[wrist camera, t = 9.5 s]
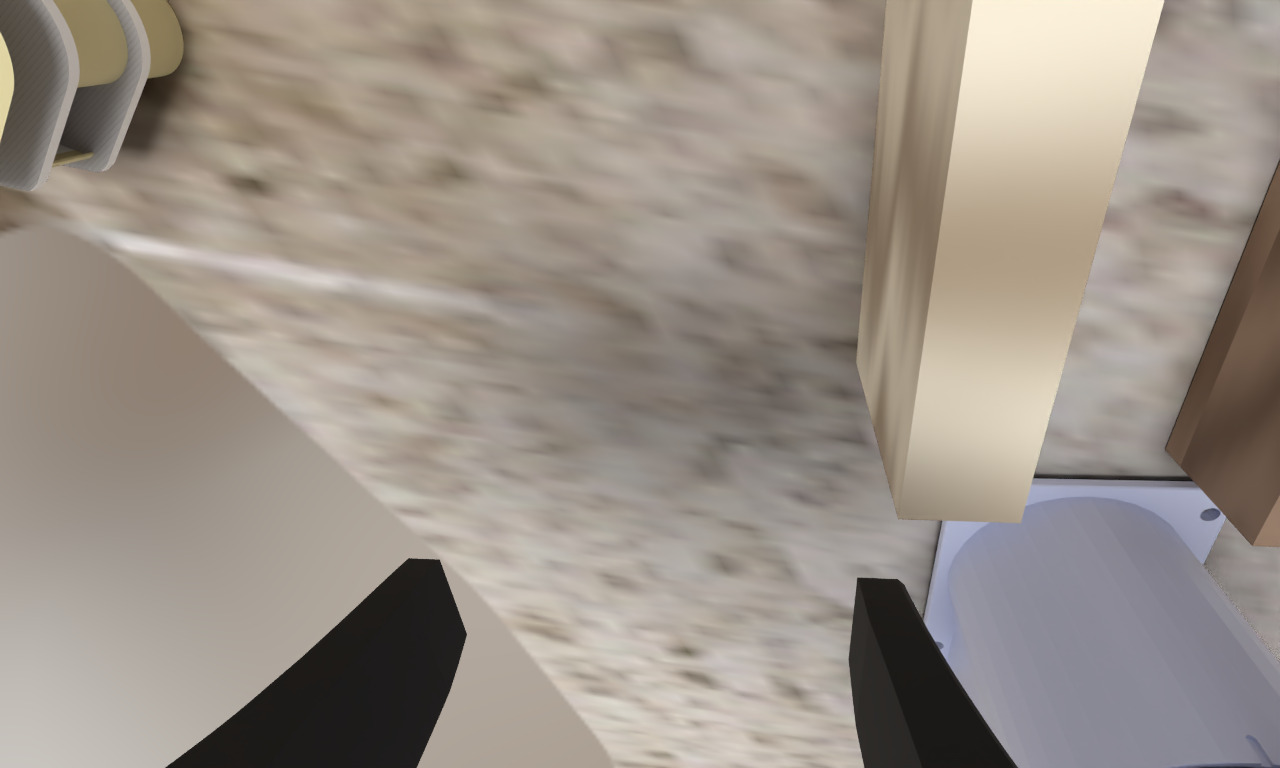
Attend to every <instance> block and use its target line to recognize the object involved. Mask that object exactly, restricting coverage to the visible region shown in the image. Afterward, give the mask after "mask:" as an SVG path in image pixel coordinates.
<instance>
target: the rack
mask: <svg viewBox="0 0 1280 768" xmlns="http://www.w3.org/2000/svg"><path fill="white" fill-rule="evenodd" d="M1165 450H1166V451H1167V452H1168V454H1169V455H1170V456H1171V457H1172V458H1173V459H1174V460H1175V461H1176V462H1177V463H1178V465H1179V466H1180V467H1181V468H1182V469H1183V470H1184V471H1185V472H1186V473H1187V474H1188V476H1189V477H1190V478H1191V479H1192V480H1193V481H1194V482H1195V483H1196V484H1197V485H1198V487H1199V488H1200V489H1201V490H1202V491H1203V492H1204V493H1205V494H1206V495H1207V496H1208V498H1209V499H1210V500H1211V501H1212V502H1213V503H1214V504H1215V505H1216V506H1217V507H1218V509H1219V510H1220V511H1221V512H1222V513H1223V514H1224V515H1225V516H1226V517H1227V518H1228V520H1229V521H1230V522H1231V523H1232V524H1233V525H1234V526H1235V527H1236V528H1237V529H1238V531H1239V532H1240V533H1241V534H1242V535H1243V536H1244V537H1245V538H1246V539H1247V540H1248V542H1249V543H1250V544H1251V545H1252V546H1269V547H1280V162H1279V165H1278V167H1277V170H1276V173H1275V175H1274V178H1273V180H1272V183H1271V185H1270V188H1269V190H1268V193H1267V195H1266V198H1265V200H1264V203H1263V205H1262V208H1261V210H1260V213H1259V215H1258V218H1257V220H1256V223H1255V225H1254V228H1253V230H1252V233H1251V235H1250V238H1249V240H1248V243H1247V245H1246V248H1245V251H1244V253H1243V256H1242V258H1241V261H1240V263H1239V266H1238V268H1237V271H1236V273H1235V276H1234V278H1233V281H1232V283H1231V286H1230V288H1229V291H1228V293H1227V296H1226V298H1225V301H1224V303H1223V306H1222V308H1221V311H1220V313H1219V316H1218V318H1217V321H1216V323H1215V326H1214V329H1213V331H1212V334H1211V336H1210V339H1209V341H1208V344H1207V346H1206V349H1205V351H1204V354H1203V356H1202V359H1201V361H1200V364H1199V366H1198V369H1197V371H1196V374H1195V376H1194V379H1193V381H1192V384H1191V386H1190V389H1189V391H1188V394H1187V396H1186V399H1185V401H1184V404H1183V407H1182V409H1181V412H1180V414H1179V417H1178V419H1177V422H1176V424H1175V427H1174V429H1173V432H1172V434H1171V437H1170V439H1169V442H1168V444H1167V447H1166V449H1165Z"/></svg>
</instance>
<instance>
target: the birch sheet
mask: <svg viewBox="0 0 1280 768" xmlns="http://www.w3.org/2000/svg"><path fill="white" fill-rule="evenodd" d="M1163 3H1164V0H887V2H886V14H885V26H884V38H883V50H882V62H881V73H880V85H879V97H878V109H877V121H876V133H875V145H874V157H873V168H872V180H871V192H870V204H869V216H868V228H867V240H866V252H865V264H864V275H863V287H862V299H861V311H860V323H859V335H858V347H857V359H856V364H857V368H858V372H859V375H860V379H861V383H862V387H863V390H864V394H865V398H866V401H867V405H868V409H869V412H870V416H871V420H872V424H873V427H874V431H875V435H876V438H877V442H878V446H879V449H880V453H881V457H882V461H883V464H884V468H885V472H886V475H887V479H888V483H889V486H890V490H891V494H892V498H893V501H894V505H895V509H896V512H897V516H898V519H908V520H938V521H968V522H998V523H1021V520H1022V516H1023V513H1024V509H1025V506H1026V502H1027V498H1028V495H1029V491H1030V487H1031V484H1032V480H1033V476H1034V473H1035V469H1036V466H1037V462H1038V458H1039V455H1040V451H1041V447H1042V444H1043V440H1044V436H1045V433H1046V429H1047V426H1048V422H1049V418H1050V415H1051V411H1052V407H1053V404H1054V400H1055V396H1056V393H1057V389H1058V385H1059V382H1060V378H1061V375H1062V371H1063V367H1064V364H1065V360H1066V356H1067V353H1068V349H1069V345H1070V342H1071V338H1072V335H1073V331H1074V327H1075V324H1076V320H1077V316H1078V313H1079V309H1080V305H1081V302H1082V298H1083V294H1084V291H1085V287H1086V284H1087V280H1088V276H1089V273H1090V269H1091V265H1092V262H1093V258H1094V254H1095V251H1096V247H1097V244H1098V240H1099V236H1100V233H1101V229H1102V225H1103V222H1104V218H1105V214H1106V211H1107V207H1108V204H1109V200H1110V196H1111V193H1112V189H1113V185H1114V182H1115V178H1116V174H1117V171H1118V167H1119V163H1120V160H1121V156H1122V153H1123V149H1124V145H1125V142H1126V138H1127V134H1128V131H1129V127H1130V123H1131V120H1132V116H1133V113H1134V109H1135V105H1136V102H1137V98H1138V94H1139V91H1140V87H1141V83H1142V80H1143V76H1144V72H1145V69H1146V65H1147V62H1148V58H1149V54H1150V51H1151V47H1152V43H1153V40H1154V36H1155V32H1156V29H1157V25H1158V22H1159V18H1160V14H1161V11H1162V7H1163Z"/></svg>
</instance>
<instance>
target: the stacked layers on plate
mask: <svg viewBox="0 0 1280 768" xmlns="http://www.w3.org/2000/svg"><path fill="white" fill-rule="evenodd" d="M183 48H184V45H183V36H182V32H181V28H180V25H179V22H178V20H177V18H176V15H175V14H174V12H173V10H172V8H171V7H170V5H169V4H168V2H167V1H166V0H0V185H1V186H6V187H11V188H16V189H20V190H25V191H31V190H35V189H39V188H41V187H42V186H43V185H44V184H45V183H46V182H47V180H48V177H49V174H50V170H51V168H52V167H56V166H60V165H63V166H68V167H73V168H78V169H83V170H88V171H93V172H102V171H106V170H108V169H109V168H110V167H111V166H112V165H113V164H114V163H115V161H116V158H117V156H118V153H119V151H120V148H121V145H122V143H123V140H124V138H125V135H126V132H127V130H128V127H129V125H130V122H131V120H132V117H133V114H134V112H135V109H136V107H137V104H138V101H139V99H140V96H141V94H142V91H143V88H144V86H145V83H146V81H147V78H154V77H161V76H166V75H169V74H171V73H172V72H174V71H175V70H176V69H177V67H178V66H179V64H180V62H181V60H182V56H183Z"/></svg>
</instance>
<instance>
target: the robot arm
mask: <svg viewBox="0 0 1280 768" xmlns="http://www.w3.org/2000/svg"><path fill="white" fill-rule="evenodd" d="M1207 509H1209V510H1207ZM1205 510H1207V511H1205ZM1203 511H1205V512H1203ZM1225 519H1226V516H1225V515H1224V514H1223V513H1222V512H1221V511H1220V510H1219V509H1218V507H1217V506H1216V505H1215V504H1214V503H1213V502H1212V501H1211V500H1210V499H1209V498H1208V496H1207V495H1206V494H1205V493H1204V492H1203V491H1202V490H1201V489H1200V488H1199V487H1198V485H1197V484H1196V483H1195V482H1189V481H1139V480H1088V479H1038V478H1033V480H1032V484H1031V487H1030V491H1029V495H1028V498H1027V502H1026V506H1025V509H1024V513H1023V516H1022V520H1021V523H998V522H968V521H942V526H941V531H940V537H939V542H938V547H937V552H936V558H935V563H934V568H933V573H932V579H931V584H930V589H929V594H928V600H927V605H926V610H925V615H924V621H923V620H922V618H921V616H920V615H919V613H918V611H917V609H916V607H915V605H914V603H913V601H912V599H911V598H910V596H909V594H908V592H907V590H906V587H905V585H904V584H903V583H901V582H900V581H899V580H898V579H878V578H857V587H856V596H855V606H854V615H853V624H852V634H851V643H850V652H849V667H850V676H851V686H852V696H853V705H854V713H855V722H856V729H857V734H858V738H859V743H860V748H861V753H862V758H863V763H864V768H1280V662H1279V661H1278V660H1277V659H1276V657H1275V656H1274V655H1273V654H1272V652H1271V651H1270V650H1269V649H1268V647H1267V646H1266V645H1265V644H1264V642H1263V641H1262V640H1261V638H1260V637H1259V636H1258V635H1257V633H1256V632H1255V631H1254V630H1253V628H1252V627H1251V626H1250V625H1249V623H1248V622H1247V621H1246V619H1245V618H1244V617H1243V616H1242V614H1241V613H1240V612H1239V611H1238V609H1237V608H1236V607H1235V606H1234V604H1233V603H1232V602H1231V600H1230V599H1229V598H1228V597H1227V595H1226V594H1225V593H1224V592H1223V590H1222V589H1221V588H1220V587H1219V585H1218V584H1217V583H1216V581H1215V580H1214V579H1213V578H1212V576H1211V575H1210V574H1209V573H1208V571H1207V570H1206V569H1205V568H1204V566H1203V564H1204V562H1205V560H1206V558H1207V556H1208V554H1209V552H1210V550H1211V548H1212V546H1213V544H1214V542H1215V540H1216V538H1217V536H1218V534H1219V532H1220V530H1221V528H1222V526H1223V523H1224V521H1225ZM466 636H467V633H466V631H465V628H464V625H463V622H462V619H461V617H460V614H459V611H458V609H457V606H456V603H455V600H454V598H453V595H452V592H451V590H450V587H449V584H448V581H447V578H446V576H445V573H444V570H443V568H442V565H441V562H440V560H434V559H410V558H409V559H408V560H406V561H405V562H404V563H403V564H402V565H401V566H400V567H399V568H398V569H396V570H395V571H394V572H393V573H392V574H391V575H390V576H389V577H388V578H387V579H386V580H385V581H384V582H383V583H381V584H380V585H379V586H378V587H377V588H376V589H375V590H374V591H373V592H372V593H371V594H370V595H369V596H368V597H367V598H365V599H364V600H363V601H362V602H361V603H360V604H359V605H358V606H357V607H356V608H355V609H354V610H353V611H352V612H351V613H350V614H348V616H346V617H345V618H344V619H343V620H342V621H341V622H340V623H339V624H338V625H337V626H335V628H333V629H332V630H331V631H330V632H329V633H328V634H327V635H326V636H325V637H324V638H322V639H321V640H320V641H319V642H318V643H317V644H316V645H315V646H314V647H313V648H311V649H310V650H309V651H308V652H307V653H306V654H305V655H304V656H303V657H302V658H301V659H300V660H298V661H297V662H296V663H295V664H293V665H292V666H291V667H290V668H289V669H288V670H286V671H285V672H284V673H283V674H282V675H281V676H279V678H277V679H276V680H275V681H274V682H272V684H270V685H269V686H268V687H267V688H266V689H264V690H263V691H262V692H261V693H260V694H258V695H257V696H256V697H255V698H254V699H253V700H252V701H250V702H249V703H248V704H247V705H246V706H244V708H242V709H241V710H240V711H238V712H237V713H236V714H235V715H233V716H232V717H231V718H230V719H229V720H227V721H226V722H225V723H224V724H223V725H221V726H220V727H219V728H217V729H216V730H215V731H213V732H212V733H211V734H210V735H208V736H207V737H206V738H204V739H203V740H202V741H200V742H199V743H198V744H197V745H195V746H194V747H192V748H191V749H190V750H188V751H187V752H186V753H184V754H183V755H182V756H181V757H179V758H178V759H176V760H175V761H174V762H173V763H171V764H170V765H168V766H167V767H166V768H417V766H418V763H419V761H420V759H421V756H422V754H423V752H424V750H425V747H426V745H427V743H428V741H429V738H430V736H431V734H432V732H433V729H434V727H435V724H436V722H437V720H438V718H439V715H440V713H441V711H442V708H443V706H444V704H445V701H446V699H447V696H448V694H449V692H450V689H451V686H452V683H453V679H454V676H455V673H456V670H457V667H458V664H459V660H460V657H461V653H462V650H463V646H464V643H465V639H466Z"/></svg>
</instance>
